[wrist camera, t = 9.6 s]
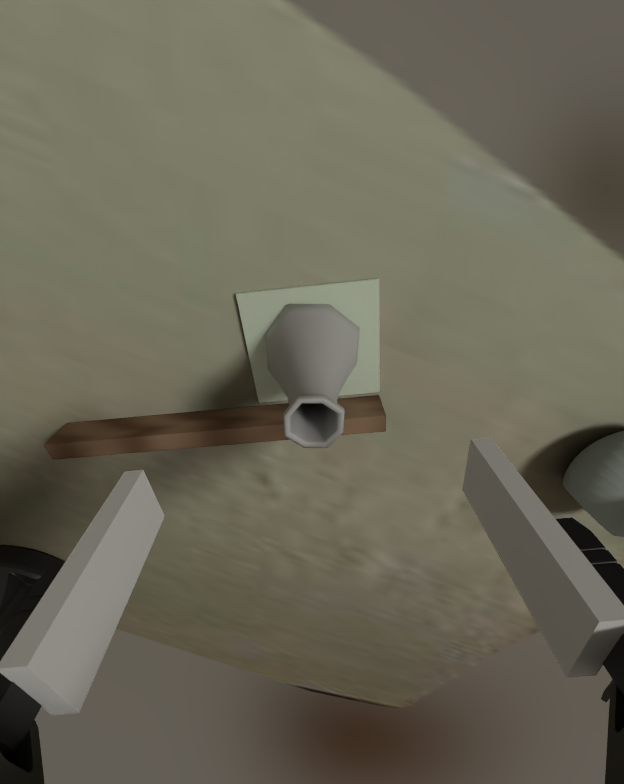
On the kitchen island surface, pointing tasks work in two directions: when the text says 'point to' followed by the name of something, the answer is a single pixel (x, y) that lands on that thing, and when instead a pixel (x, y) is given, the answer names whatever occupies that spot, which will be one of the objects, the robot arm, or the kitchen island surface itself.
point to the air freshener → (600, 481)
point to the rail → (199, 429)
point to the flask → (312, 369)
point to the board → (346, 297)
